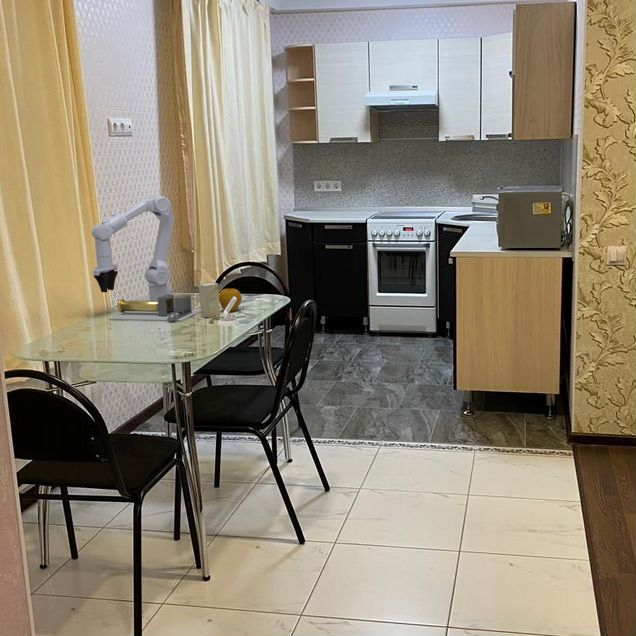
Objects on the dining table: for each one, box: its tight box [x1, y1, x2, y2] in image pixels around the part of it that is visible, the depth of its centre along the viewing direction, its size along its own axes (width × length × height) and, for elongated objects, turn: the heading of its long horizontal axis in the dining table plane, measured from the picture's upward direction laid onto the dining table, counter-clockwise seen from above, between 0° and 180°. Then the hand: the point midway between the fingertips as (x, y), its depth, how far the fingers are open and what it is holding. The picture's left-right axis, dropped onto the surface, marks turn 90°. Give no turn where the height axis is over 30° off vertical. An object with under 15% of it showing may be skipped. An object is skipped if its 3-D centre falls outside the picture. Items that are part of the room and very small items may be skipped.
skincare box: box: [198, 282, 221, 319], centre depth 308 cm, size 6×4×12 cm
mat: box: [108, 309, 201, 322], centre depth 314 cm, size 18×30×1 cm, turn 73°
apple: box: [219, 288, 243, 313], centre depth 316 cm, size 8×8×9 cm
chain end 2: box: [167, 294, 193, 322], centre depth 307 cm, size 15×3×7 cm, turn 163°
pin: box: [117, 298, 169, 314], centre depth 315 cm, size 5×19×5 cm, turn 73°
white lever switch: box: [217, 296, 240, 327], centre depth 293 cm, size 8×12×7 cm
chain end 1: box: [157, 293, 175, 317], centre depth 316 cm, size 15×3×7 cm, turn 163°
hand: (107, 291), depth 318 cm, fingers open, 4 cm apart
